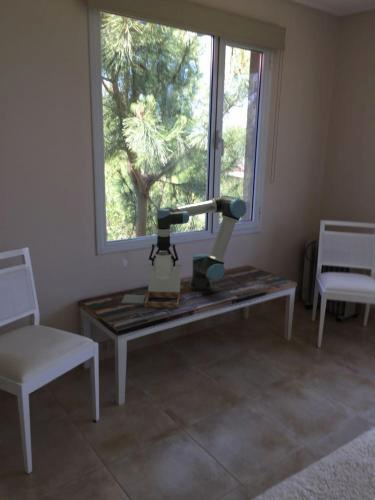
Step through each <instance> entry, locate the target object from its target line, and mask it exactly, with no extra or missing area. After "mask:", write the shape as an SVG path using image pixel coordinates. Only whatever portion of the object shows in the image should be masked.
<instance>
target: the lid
mask: <svg viewBox="0 0 375 500" xmlns="http://www.w3.org/2000/svg"><path fill="white" fill-rule="evenodd" d="M181 271H182V265H181V264H175V267H173V272H172V269H171V273H170V276H171V277H170V278H169V279H158V278H157V273H156V268H155V272H154V266H152V263H149V265H148V292H163V293H180V292H181V277H182V276H181V275H182V272H181Z"/></svg>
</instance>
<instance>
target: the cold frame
mask: <svg viewBox="0 0 375 500" xmlns="http://www.w3.org/2000/svg"><path fill="white" fill-rule="evenodd" d="M180 295H181V293H180V292H156V291H148V292H147V294H146V297H145V300H144V308H168V309H169V308H170V309H179V306H180V299H181V298H180V297H181V296H180ZM150 298H167V299H176V302H167V301H164V302H163V301H149V299H150Z"/></svg>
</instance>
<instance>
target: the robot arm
mask: <svg viewBox="0 0 375 500" xmlns="http://www.w3.org/2000/svg"><path fill="white" fill-rule="evenodd" d="M207 213H212V214H216V213H217V214H218V213H220V214H221V218H222V220H221V223H220V225H219V229H218V231H217V235H216V238H215V240H214V243H213V246H212V249H211V252H210V254H209V253H208V254H207V253H197V254H193V256H192V272H191V273H192V275H191V279H190V282H189V284H188V285H189V289H191V290H193V291H197V292H205V291H207V292H208V291H210V290H212V286H213V285H212V281H219V280H220V279H222V278H223V277H224V275H225V272H226V268H225V266H224V264H225V260H224V258H225V255H226V253H227V249H228V246H229V243H230V240H231V237H232V235H233V233H234V232H233V231H234V229H235V226H236V223H239V221H240V219H241V218H243V217H244V216H245V214H246V213H247V204H246V202H245V201H244V200H243V199H242V198H239V197H235V196H230V195H221V196H218V197H213V198H210V199H209V200H206V201H205V200H204V201H201V202H194V203H189V204H183V205H180V206H174V207H170V206H166V207H163V208H159V209H158V210H157V213H156V222H157V223H156V228H157V229H156V230H157V231H156V235H157V237H156V239H157V240H156V241H157V242H156V243H154V242H153V243H152V244H151V249H150V253H149V257H148V260H149V261H151V264H152V266H154V272H155V258H156V256H155V254H154V250H155V248H156V247H157V250H156V252H155V253H156V254H158V253H159V252H162V251H165V252H168V253H169V255H170V254H171V255H172V256H171V258H172V272H173V267H175V265H176V262H177V261H179V256H178V252H177V250H176V244H175V243H173V244H172V243H171V226H173V225H174V226H175V225H184V224H188V223H189V221H190V217H193V216H198V215H204V214H207ZM170 247H171V248H172V251H171V250H170ZM172 252H173V253H172ZM153 254H154V255H153ZM173 254H174V255H173Z"/></svg>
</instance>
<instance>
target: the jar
mask: <svg viewBox="0 0 375 500" xmlns="http://www.w3.org/2000/svg"><path fill="white" fill-rule="evenodd" d="M154 255H155V256H156V258H155V259H154V260H155V268H156V273H157V278H158V279H169V278H170V277H171V276H170V273H171V269H172V258H171V256H172V255H171V254H170V255H169V253H168V252H167V251H159V253H158V254H156V252H155V253H154Z"/></svg>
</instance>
